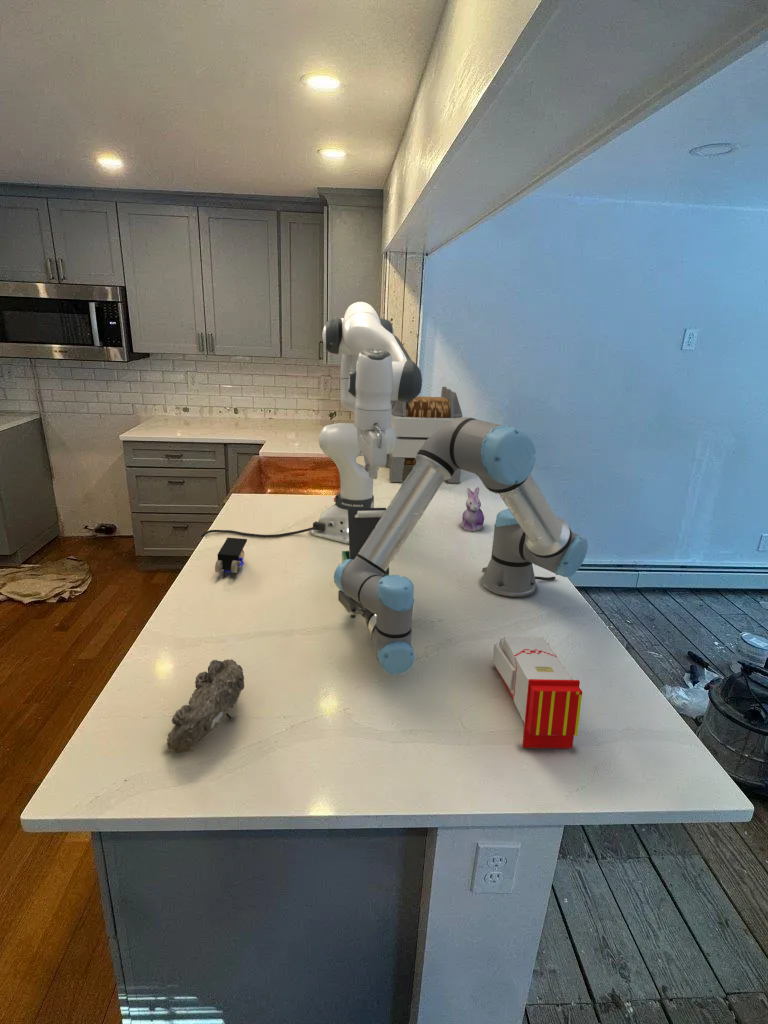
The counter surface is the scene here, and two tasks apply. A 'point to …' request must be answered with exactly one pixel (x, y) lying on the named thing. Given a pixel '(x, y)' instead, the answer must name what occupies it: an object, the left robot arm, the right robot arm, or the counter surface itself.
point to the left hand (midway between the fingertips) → (370, 474)
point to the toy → (539, 691)
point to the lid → (362, 527)
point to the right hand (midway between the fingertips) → (367, 579)
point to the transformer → (419, 428)
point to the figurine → (473, 512)
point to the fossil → (206, 705)
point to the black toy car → (230, 556)
